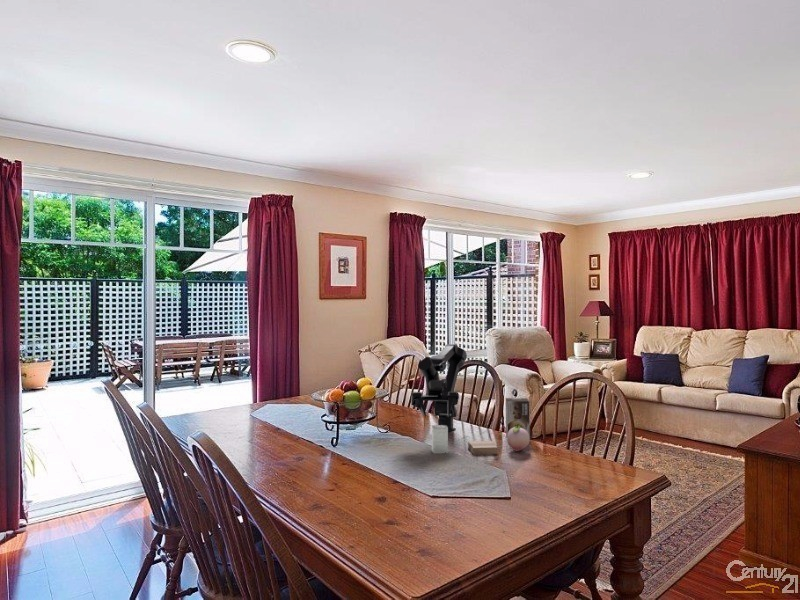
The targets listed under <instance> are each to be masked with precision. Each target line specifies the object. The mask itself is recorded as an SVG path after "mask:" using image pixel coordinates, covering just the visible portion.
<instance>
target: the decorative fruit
mask: <svg viewBox="0 0 800 600" xmlns="http://www.w3.org/2000/svg"><path fill="white" fill-rule="evenodd" d="M506 439H507V443H508V445H509V446H510V448H511V449H513V450H514V451H516V452H519V451H522V450H523V449H525V448H526V447H527V446H528V445H529V443H530V440H529V434H528V432H527V431H526V430H525V429H523V428H521V427H520V426H518V425H517V426H515V427H514V428H511V429H510V430H509V431H508V434H507V437H506Z"/></svg>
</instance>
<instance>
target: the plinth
mask: <svg viewBox="0 0 800 600" xmlns="http://www.w3.org/2000/svg"><path fill="white" fill-rule="evenodd" d="M467 447H468V449H469V451H470V452H471V454H472V455H474V456H475V455H476V456H477V455H498V446H497V445H496V444H495V443H494V442H493V441H492V440H469V441H467Z"/></svg>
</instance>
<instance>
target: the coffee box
mask: <svg viewBox="0 0 800 600" xmlns="http://www.w3.org/2000/svg"><path fill="white" fill-rule="evenodd" d="M517 425H518V426H520V427H521V428H523V429H525V430H526V431H527V432H528V434H529V441H531V439H530V438H531V437H530V436H531V435H530V434H531V433H530V432H531V430H530V401H529V399H528V398H525V397H507V398H506V397H505V437H506V438H507V434H508V431H509V430H510V429H511V428H514V427H515V426H517Z"/></svg>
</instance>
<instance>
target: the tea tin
mask: <svg viewBox="0 0 800 600" xmlns="http://www.w3.org/2000/svg"><path fill="white" fill-rule="evenodd" d="M431 452H432V454H448V453H449V432H448V427H447V426H446V425H438V424H437V425H436V424H432V425H431ZM445 452H446V453H445Z"/></svg>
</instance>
